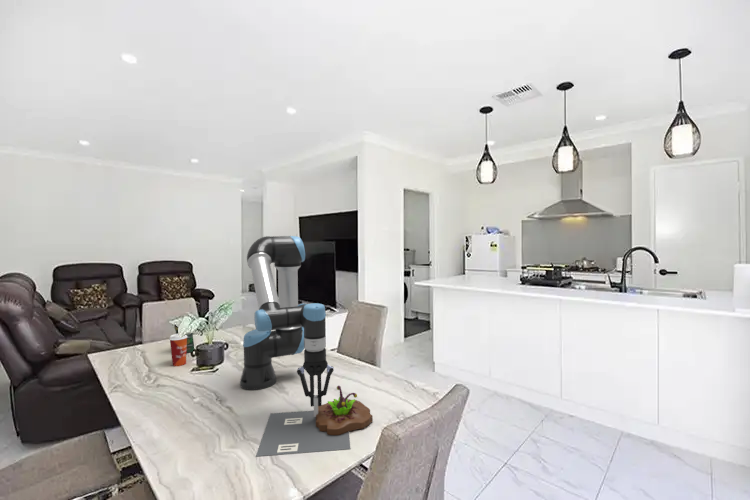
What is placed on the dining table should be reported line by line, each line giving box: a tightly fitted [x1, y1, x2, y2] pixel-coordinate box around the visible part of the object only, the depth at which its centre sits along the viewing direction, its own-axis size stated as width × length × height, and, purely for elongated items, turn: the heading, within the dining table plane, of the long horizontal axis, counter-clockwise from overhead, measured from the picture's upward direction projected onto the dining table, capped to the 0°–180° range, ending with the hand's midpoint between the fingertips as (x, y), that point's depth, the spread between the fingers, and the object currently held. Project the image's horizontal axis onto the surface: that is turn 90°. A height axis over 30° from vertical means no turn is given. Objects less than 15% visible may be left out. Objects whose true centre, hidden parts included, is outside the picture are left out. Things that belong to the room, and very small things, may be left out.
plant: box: [316, 385, 374, 435], centre depth 129 cm, size 20×20×11 cm
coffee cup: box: [169, 333, 188, 367], centre depth 186 cm, size 8×8×15 cm
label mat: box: [255, 409, 351, 458], centre depth 122 cm, size 28×26×1 cm
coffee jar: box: [173, 324, 195, 354], centre depth 205 cm, size 10×8×19 cm
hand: (316, 414), depth 128 cm, fingers closed
